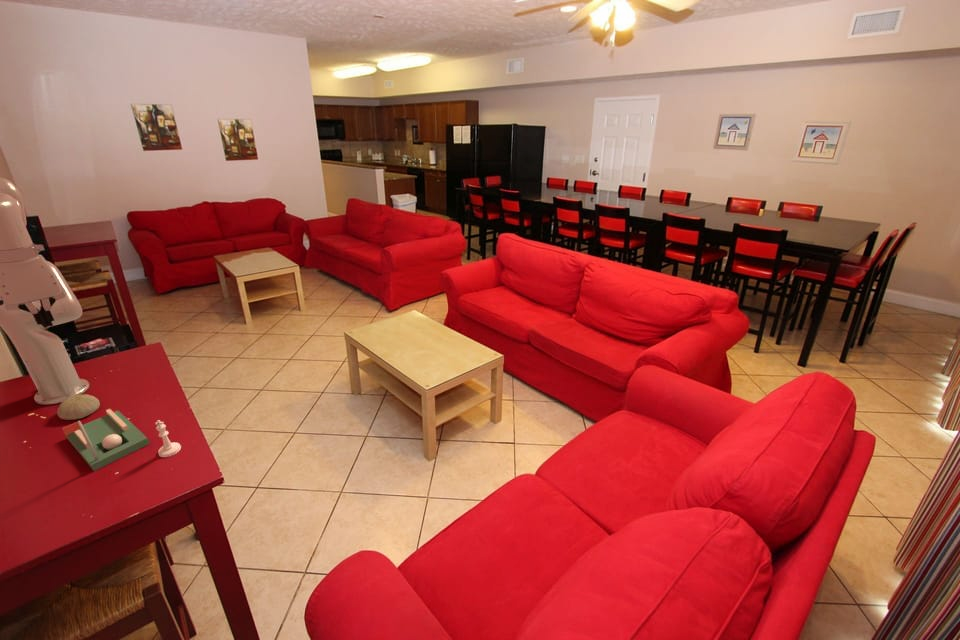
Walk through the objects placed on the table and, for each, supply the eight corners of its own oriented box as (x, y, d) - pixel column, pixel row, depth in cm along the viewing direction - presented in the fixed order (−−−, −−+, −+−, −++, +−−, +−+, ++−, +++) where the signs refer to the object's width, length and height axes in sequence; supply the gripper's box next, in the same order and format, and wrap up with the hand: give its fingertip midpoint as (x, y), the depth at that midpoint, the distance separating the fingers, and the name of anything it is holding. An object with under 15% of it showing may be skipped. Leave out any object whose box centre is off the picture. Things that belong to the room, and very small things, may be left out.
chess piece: (175, 456, 110) (164, 426, 105) (154, 458, 109) (142, 427, 105) (184, 443, 114) (173, 413, 110) (164, 445, 113) (152, 415, 109)
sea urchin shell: (78, 419, 119) (53, 400, 117) (70, 432, 122) (45, 413, 120) (109, 400, 127) (86, 382, 125) (100, 412, 130) (78, 395, 129)
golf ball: (105, 447, 107) (107, 455, 110) (124, 439, 110) (126, 446, 113) (97, 436, 109) (100, 444, 111) (116, 428, 112) (118, 436, 114)
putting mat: (59, 441, 113) (37, 398, 107) (120, 415, 124) (103, 375, 117) (86, 474, 103) (63, 430, 97) (149, 443, 114) (132, 401, 107)
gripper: (51, 244, 105) (80, 311, 113) (-38, 258, 93) (1, 332, 101) (61, 250, 101) (90, 319, 109) (-31, 265, 90) (9, 341, 98)
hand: (47, 325), depth 105 cm, fingers closed
